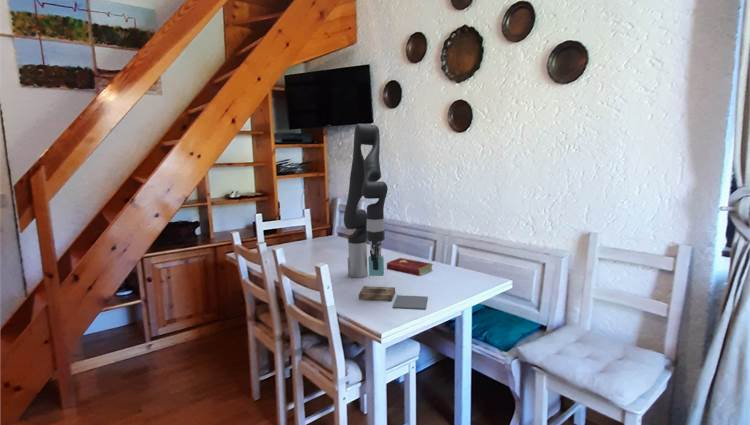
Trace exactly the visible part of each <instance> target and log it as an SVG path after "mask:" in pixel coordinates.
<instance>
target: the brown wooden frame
mask: <svg viewBox="0 0 750 425" xmlns="http://www.w3.org/2000/svg"><path fill="white" fill-rule="evenodd" d="M395 295H396V287H395V286H394V287H393V286H375V285H374V286H369V285H364V286H363V287H362V288H361V290H360V292H358V300H362V301H381V302H382V301H384V302H393V299H394V297H395Z"/></svg>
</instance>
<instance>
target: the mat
mask: <svg viewBox="0 0 750 425" xmlns="http://www.w3.org/2000/svg"><path fill="white" fill-rule="evenodd" d="M428 299H429V296H422V295H420V296H419V295H403V294H400V295H399V294H398V295H397V294H396V297H395V299H394V302H393V305H392V309H402V310H403V309H405V310H424V311H426V310H427V303H428Z"/></svg>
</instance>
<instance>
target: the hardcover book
mask: <svg viewBox="0 0 750 425" xmlns="http://www.w3.org/2000/svg"><path fill="white" fill-rule="evenodd" d="M433 265H434V264H433V263H430V262H425V261H420V260H414V259H410V258H405V257H404V258H403V257H398V258H396V259H392V260H390V261H388V262H387V261H386V269H387V270H391V271H395V272H399V273H404V274H408V275H414V276H419V277H421V276H422V275H424V274H426V273H429V272H431V270H432V271H433Z"/></svg>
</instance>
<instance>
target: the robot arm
mask: <svg viewBox="0 0 750 425" xmlns="http://www.w3.org/2000/svg"><path fill="white" fill-rule="evenodd" d="M353 134H354V136H353V148H352V149H353V152H352V162H351V167H350V175H349V182H348V183H349V185H348V194H347V199H346V205H345V208H344V214H343V224H344V227H345V228H346V229H347V230H355V231H354V232H352V234H350V235H349V236H348V237H347V245H348V248H347V249H348V257H347V276H348V277H349V278H350V277H351V278H355V279H359V278H365V277H368V276H369V275H368V274H369V269H368V244H367V243H368V242H371V245H370V250H369V254H370V255H369V256H371V261H373V270H378V261H379V260H378V256H382V243H381V242H384V241H385V236H386V235H385V219H384V218H385V217H384V209H385V202H386V198H387V195H388V185H387V183H386V182H384V180H383V181H382V180H381V181H379V180H380V179H381V178H382V172H381V164H380V151H381V150H380V149H381V148H380V142H381V141H380V139H381V138H380V137H381V135H380V128H379V126H378V125H376V124H370V123H357V124H356V125H355V128H354V133H353ZM363 145H365V146H371V150H370V151H369V153H368V154H367V156H365V158H364V156H363V152H362V146H363ZM362 198H365V199H367V200H371V199H373V200H374V199H378V200H377V202H374V203H370V204H368V205H367V206H366V210H364V209H357V208H358V204H359V203H360V201H361V199H362ZM367 241H368V242H367Z"/></svg>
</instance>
